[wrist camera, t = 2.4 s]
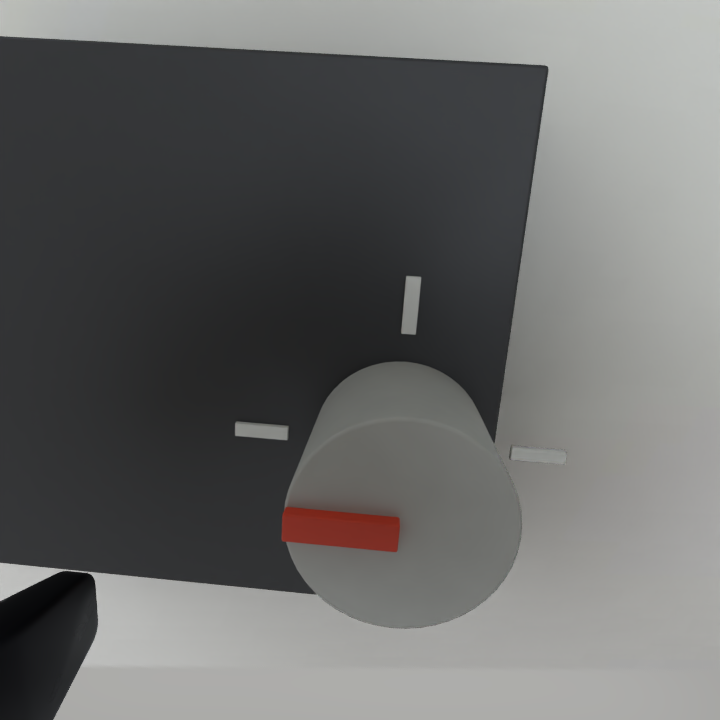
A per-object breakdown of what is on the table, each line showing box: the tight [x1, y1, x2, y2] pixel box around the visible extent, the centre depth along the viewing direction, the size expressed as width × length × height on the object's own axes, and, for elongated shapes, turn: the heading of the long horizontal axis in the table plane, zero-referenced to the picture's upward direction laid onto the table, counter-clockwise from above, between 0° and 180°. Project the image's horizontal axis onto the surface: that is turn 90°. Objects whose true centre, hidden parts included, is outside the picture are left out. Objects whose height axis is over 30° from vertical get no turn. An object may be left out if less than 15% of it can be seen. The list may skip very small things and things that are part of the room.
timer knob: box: [282, 362, 522, 629], centre depth 11 cm, size 4×4×4 cm
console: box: [0, 36, 567, 595], centre depth 14 cm, size 14×16×3 cm
